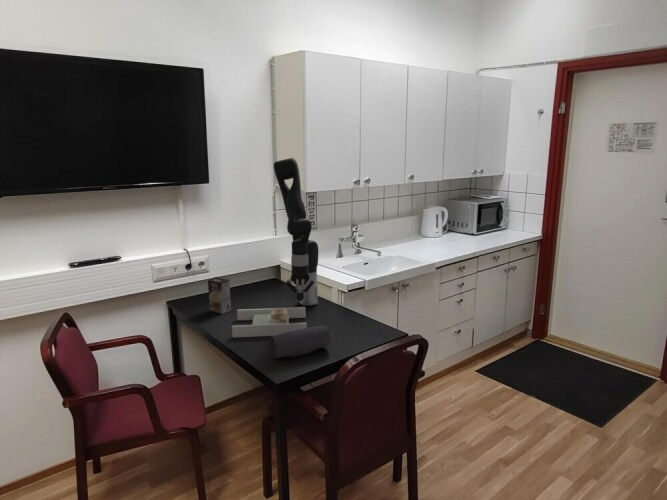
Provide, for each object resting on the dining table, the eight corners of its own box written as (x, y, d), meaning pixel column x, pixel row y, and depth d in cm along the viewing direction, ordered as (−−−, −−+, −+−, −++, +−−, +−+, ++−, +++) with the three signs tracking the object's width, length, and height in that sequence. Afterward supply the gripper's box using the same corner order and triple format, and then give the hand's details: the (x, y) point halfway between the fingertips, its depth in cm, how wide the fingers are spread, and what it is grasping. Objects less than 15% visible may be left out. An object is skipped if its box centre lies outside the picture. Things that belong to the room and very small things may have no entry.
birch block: (287, 317, 214) (287, 309, 213) (287, 322, 209) (286, 313, 208) (272, 317, 214) (271, 309, 213) (271, 322, 208) (271, 314, 207)
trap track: (305, 316, 223) (305, 306, 221) (306, 334, 203) (306, 323, 202) (237, 319, 220) (237, 309, 219) (232, 337, 201) (231, 326, 199)
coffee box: (209, 310, 231) (206, 280, 227) (218, 306, 237) (216, 276, 233) (222, 314, 227) (220, 282, 223) (231, 310, 232) (229, 279, 228)
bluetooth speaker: (320, 343, 195) (320, 320, 192) (331, 351, 187) (331, 328, 184) (269, 355, 184) (268, 331, 182) (278, 365, 176) (277, 340, 174)
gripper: (314, 261, 210) (314, 297, 214) (285, 261, 209) (286, 298, 213) (315, 265, 202) (315, 303, 206) (284, 265, 202) (285, 303, 206)
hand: (300, 300), depth 210 cm, fingers closed
